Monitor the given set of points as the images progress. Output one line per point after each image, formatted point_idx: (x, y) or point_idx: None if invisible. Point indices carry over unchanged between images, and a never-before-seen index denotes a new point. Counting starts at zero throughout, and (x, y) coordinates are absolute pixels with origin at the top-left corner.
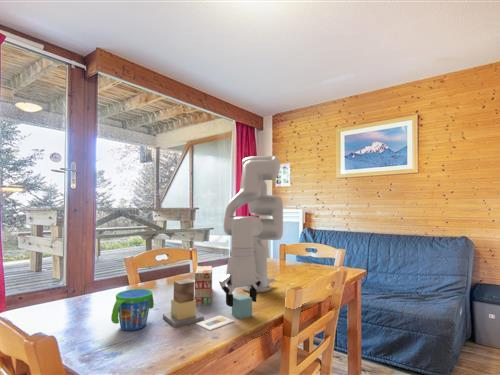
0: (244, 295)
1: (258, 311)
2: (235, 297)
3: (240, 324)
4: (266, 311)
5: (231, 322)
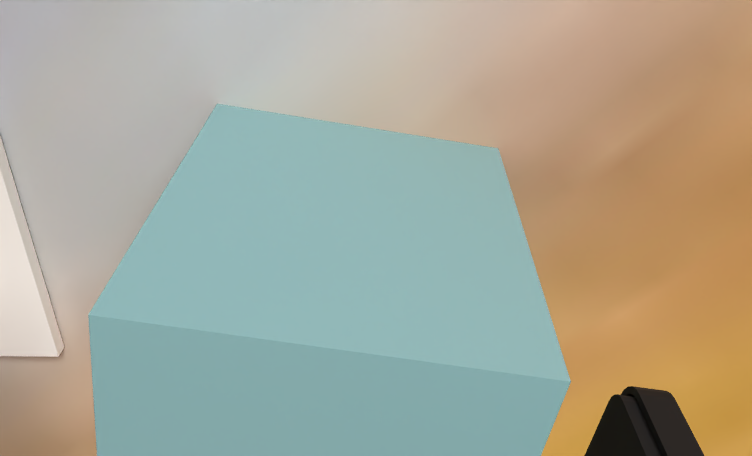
0: (498, 451)
1: (670, 317)
2: (146, 419)
3: (90, 445)
4: (744, 391)
5: (8, 348)
